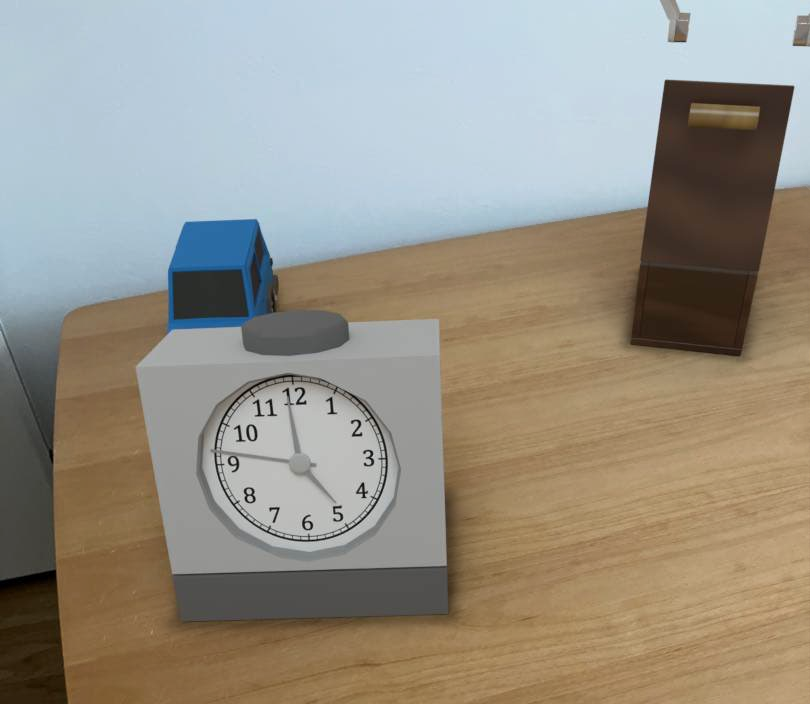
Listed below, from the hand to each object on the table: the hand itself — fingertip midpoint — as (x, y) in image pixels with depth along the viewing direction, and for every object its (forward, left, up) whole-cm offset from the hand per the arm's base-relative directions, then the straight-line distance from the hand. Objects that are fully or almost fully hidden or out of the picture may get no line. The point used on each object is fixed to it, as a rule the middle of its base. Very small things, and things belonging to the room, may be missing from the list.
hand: (738, 42), depth 79 cm
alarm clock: (+34, +26, -29) cm, 52 cm away
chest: (-2, -7, -29) cm, 30 cm away
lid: (0, -2, -12) cm, 12 cm away
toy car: (+46, -3, -29) cm, 55 cm away
